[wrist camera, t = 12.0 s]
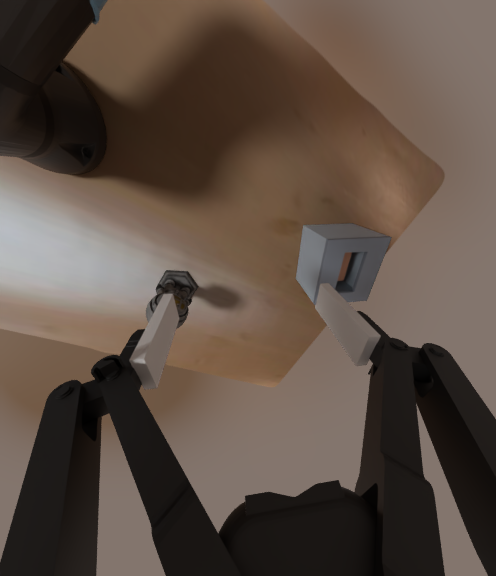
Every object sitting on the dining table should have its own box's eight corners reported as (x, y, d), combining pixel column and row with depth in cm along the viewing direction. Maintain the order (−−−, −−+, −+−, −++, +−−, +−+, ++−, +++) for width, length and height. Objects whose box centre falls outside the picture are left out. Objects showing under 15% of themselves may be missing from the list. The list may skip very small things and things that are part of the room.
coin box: (303, 225, 43) (328, 240, 32) (352, 223, 44) (391, 237, 33) (296, 278, 50) (314, 304, 40) (338, 275, 51) (366, 300, 41)
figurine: (203, 279, 47) (195, 318, 34) (184, 306, 50) (171, 350, 38) (170, 262, 44) (148, 297, 31) (153, 292, 47) (127, 334, 34)
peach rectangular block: (320, 239, 44) (338, 251, 37) (332, 239, 44) (352, 250, 37) (315, 266, 48) (330, 281, 41) (326, 265, 48) (343, 280, 41)
